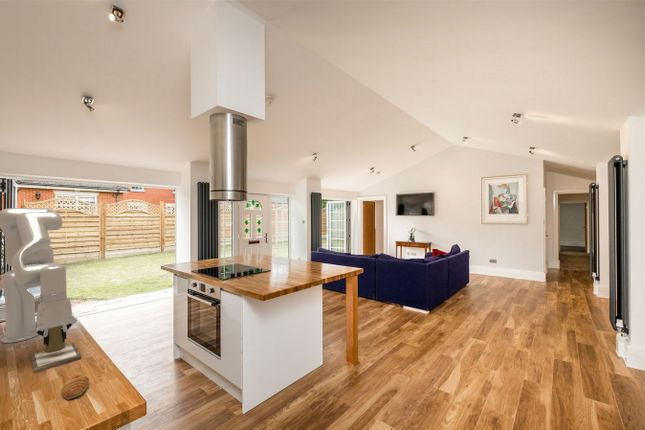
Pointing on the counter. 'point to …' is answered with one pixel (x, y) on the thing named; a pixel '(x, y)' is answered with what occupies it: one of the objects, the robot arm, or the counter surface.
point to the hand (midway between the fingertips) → (55, 343)
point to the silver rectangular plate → (54, 358)
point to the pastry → (75, 386)
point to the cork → (55, 340)
